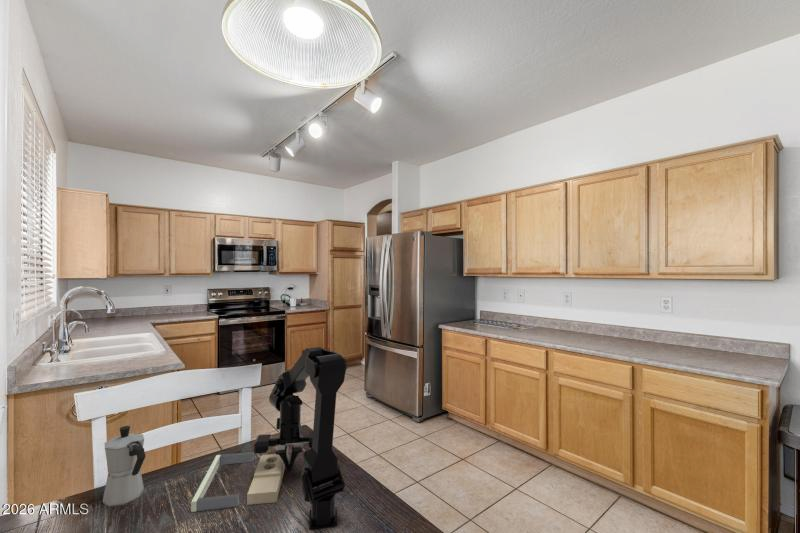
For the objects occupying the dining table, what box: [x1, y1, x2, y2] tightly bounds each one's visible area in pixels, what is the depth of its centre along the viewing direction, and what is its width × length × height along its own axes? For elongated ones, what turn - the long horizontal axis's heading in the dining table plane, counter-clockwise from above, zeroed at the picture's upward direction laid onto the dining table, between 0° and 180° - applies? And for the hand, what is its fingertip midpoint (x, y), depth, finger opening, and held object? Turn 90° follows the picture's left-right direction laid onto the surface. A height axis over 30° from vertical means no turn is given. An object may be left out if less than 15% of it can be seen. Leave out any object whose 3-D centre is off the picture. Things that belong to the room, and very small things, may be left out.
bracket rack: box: [190, 451, 255, 513], centre depth 102 cm, size 23×11×2 cm, turn 12°
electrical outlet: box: [246, 453, 286, 506], centre depth 103 cm, size 7×4×18 cm
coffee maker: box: [101, 425, 146, 508], centre depth 95 cm, size 15×9×18 cm, turn 62°
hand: (289, 471), depth 106 cm, fingers closed
